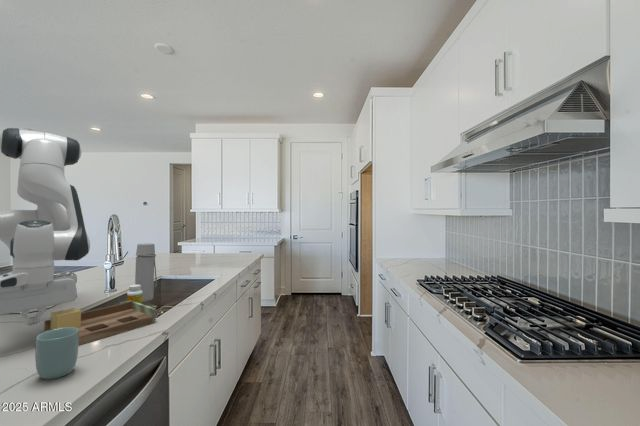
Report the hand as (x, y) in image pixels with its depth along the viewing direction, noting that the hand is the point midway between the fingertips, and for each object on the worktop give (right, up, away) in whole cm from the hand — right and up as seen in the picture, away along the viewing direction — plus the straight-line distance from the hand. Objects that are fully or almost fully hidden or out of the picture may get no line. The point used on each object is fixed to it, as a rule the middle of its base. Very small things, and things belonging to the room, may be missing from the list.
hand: (32, 323), depth 87 cm
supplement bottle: (+9, -7, +33) cm, 35 cm away
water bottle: (+6, -7, +47) cm, 48 cm away
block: (+4, -4, +7) cm, 9 cm away
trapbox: (+11, -7, +13) cm, 18 cm away
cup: (+21, -7, -15) cm, 26 cm away
